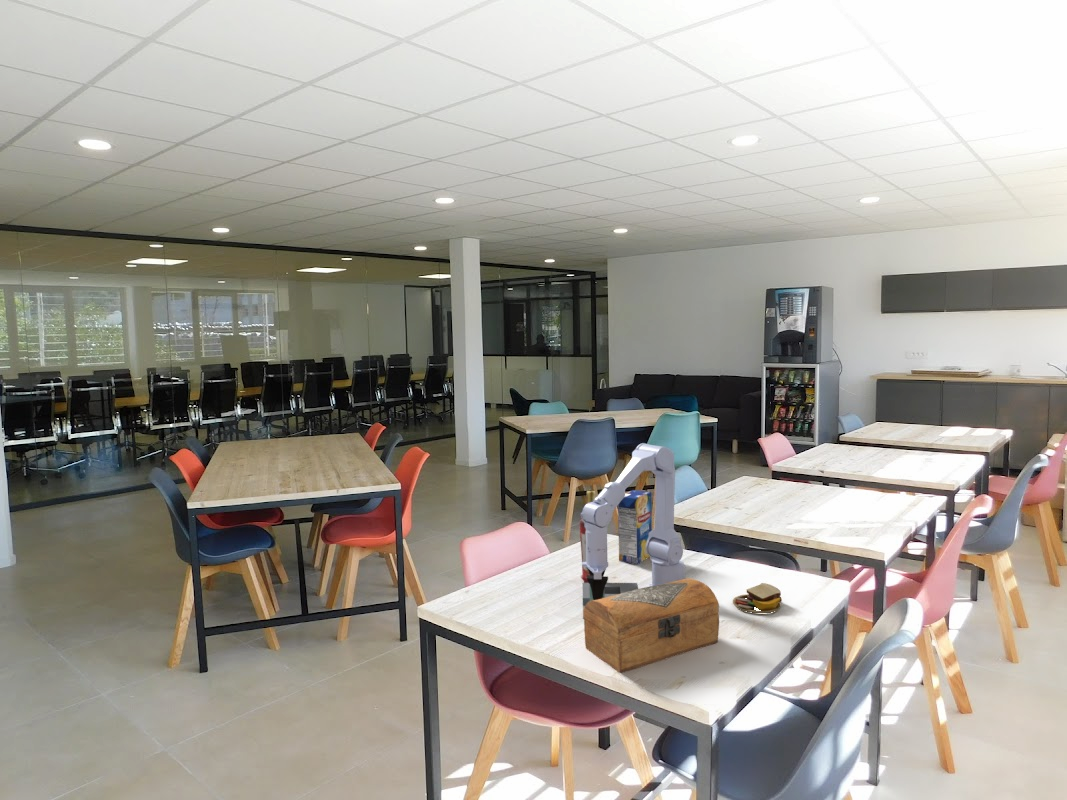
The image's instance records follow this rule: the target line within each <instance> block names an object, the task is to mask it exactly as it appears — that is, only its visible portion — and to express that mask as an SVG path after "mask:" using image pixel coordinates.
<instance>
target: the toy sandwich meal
mask: <svg viewBox="0 0 1067 800" xmlns="http://www.w3.org/2000/svg"><path fill="white" fill-rule="evenodd" d="M781 595H782V592H781V590H780V589H779V588H778V587H777V586H774V585H772V584H769V583H767V582H766V583H765V582H761V583H760V584H757V585H754V586H753V587H750V588H747V589H746V594H741V595H737V596H735V597H734V598H733V599H732V604H733V605H734V606H735V607H736V608H737V609H738V608H739V609H738V610H740V609H741V610H740V611H742V610H743V611H742V612H744V611H747V612H752V613H771V612H774V611H776V612H777V611H778V610H779V609H780V608H781V604H780V603H782V601H783V600H782V597H781ZM745 598H747V599H745ZM754 607H756V608H758V609H759V610H761V611H756V610H754ZM747 612H746V613H747ZM752 613H751V614H752ZM774 613H775V612H774ZM771 614H772V613H771Z"/></svg>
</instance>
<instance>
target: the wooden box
mask: <svg viewBox="0 0 1067 800" xmlns="http://www.w3.org/2000/svg"><path fill="white" fill-rule="evenodd" d="M719 612H720V603H719V601H718V598H717V596H716V595H715V593H714V591H713V590H712V589H711V587H709V585H707V584H705V582H702V581H700V580H697V579H695V578H685V579H683V580H678V581H674V582H670V583H666V584H661V585H656V586H650V585H649V586H646V587H642V588H638V589H636V590H633V591H629V592H626V593H622V594H618V595H614V596H610V597H606V598H602V599H598V600H593V601H589V602H588V603H587V604H586V606H585V607H584V609H583V608H582V618H583V617H584V619H583V625H584V629H583V630H584V646H585V649H586V650H587V651H589V652H590V653H591V654H593V655H595V656H596V657H597V658H598V659H600V660H601V661H603V662H605V663H606V665H608V666H610V667H611V668H612V669H614V670H616V672H618V673H619V674H623V673H626V672H628V671H631V670H635V669H638V668H641V667H645V666H648V665H651V664H653V663H657V662H660V661H663V660H666V659H667V660H668V659H669V658H674V657H676V656H678V655H679V656H680V655H682V654H686V653H690V652H693V651H696V650H699V649H702V648H705V647H708V646H712V645H715V644H717V643H718V641H719V631H720V630H719V629H720V613H719Z"/></svg>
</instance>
